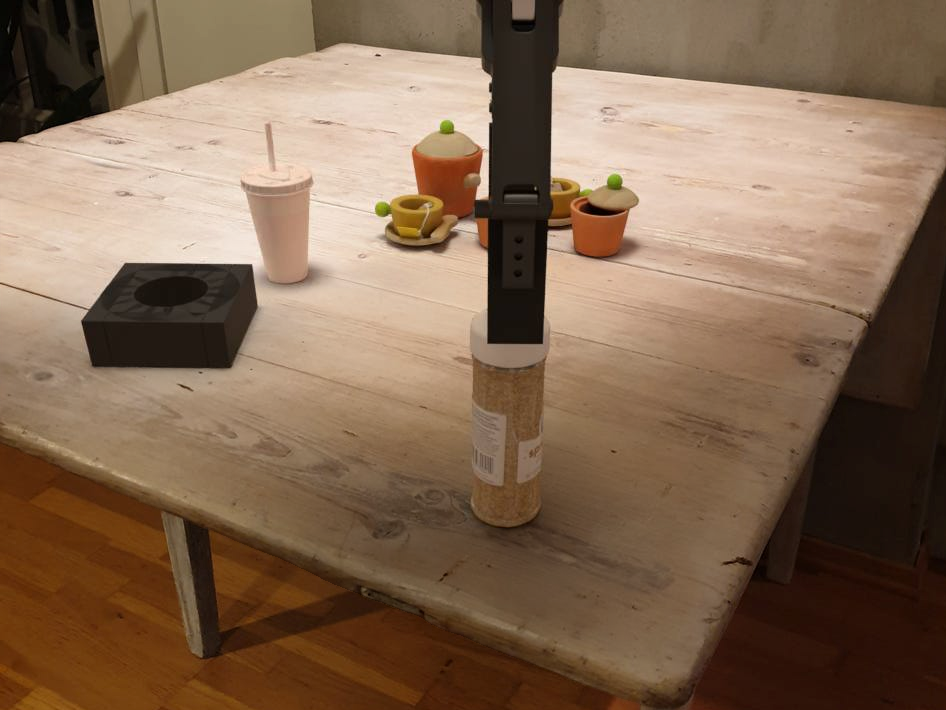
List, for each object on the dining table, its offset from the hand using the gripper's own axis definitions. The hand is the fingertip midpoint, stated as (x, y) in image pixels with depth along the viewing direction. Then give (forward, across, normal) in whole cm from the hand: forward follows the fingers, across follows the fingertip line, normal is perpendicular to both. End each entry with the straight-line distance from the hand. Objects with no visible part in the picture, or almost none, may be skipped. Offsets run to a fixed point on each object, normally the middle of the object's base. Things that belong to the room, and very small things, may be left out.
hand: (512, 282), depth 53 cm
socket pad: (+16, +23, +27) cm, 39 cm away
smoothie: (+16, +35, +20) cm, 44 cm away
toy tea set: (+16, +48, -1) cm, 50 cm away
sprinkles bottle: (+16, 0, 0) cm, 16 cm away
